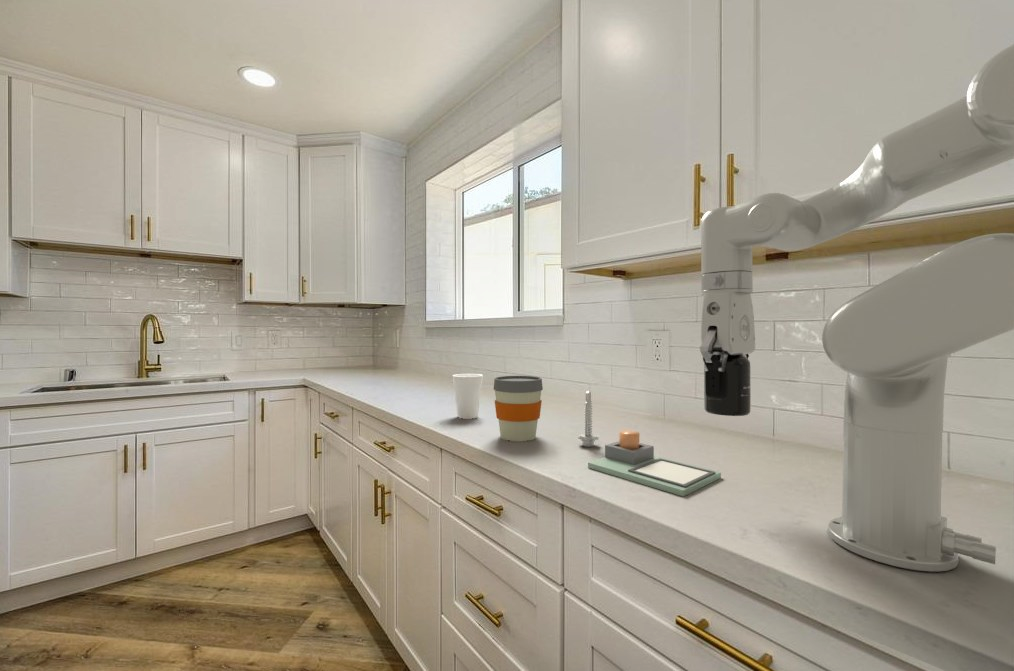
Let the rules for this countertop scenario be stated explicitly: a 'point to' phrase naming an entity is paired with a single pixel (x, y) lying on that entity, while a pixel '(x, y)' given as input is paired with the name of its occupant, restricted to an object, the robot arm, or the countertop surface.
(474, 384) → the foam cup
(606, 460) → the mint green tray
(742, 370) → the supplement bottle
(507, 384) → the reusable coffee cup
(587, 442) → the screw
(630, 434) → the button
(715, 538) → the countertop surface
